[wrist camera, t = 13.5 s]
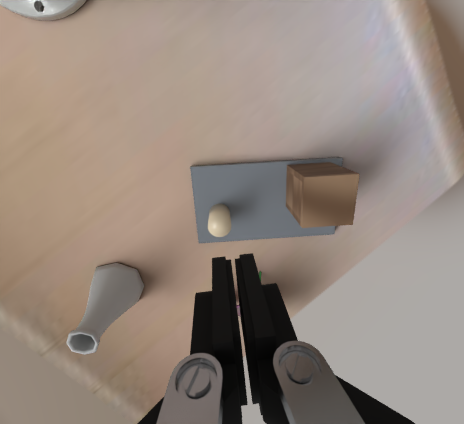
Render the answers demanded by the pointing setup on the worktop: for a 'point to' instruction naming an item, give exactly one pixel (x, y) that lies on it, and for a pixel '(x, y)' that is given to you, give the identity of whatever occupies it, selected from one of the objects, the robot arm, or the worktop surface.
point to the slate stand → (247, 201)
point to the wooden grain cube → (321, 194)
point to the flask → (105, 304)
